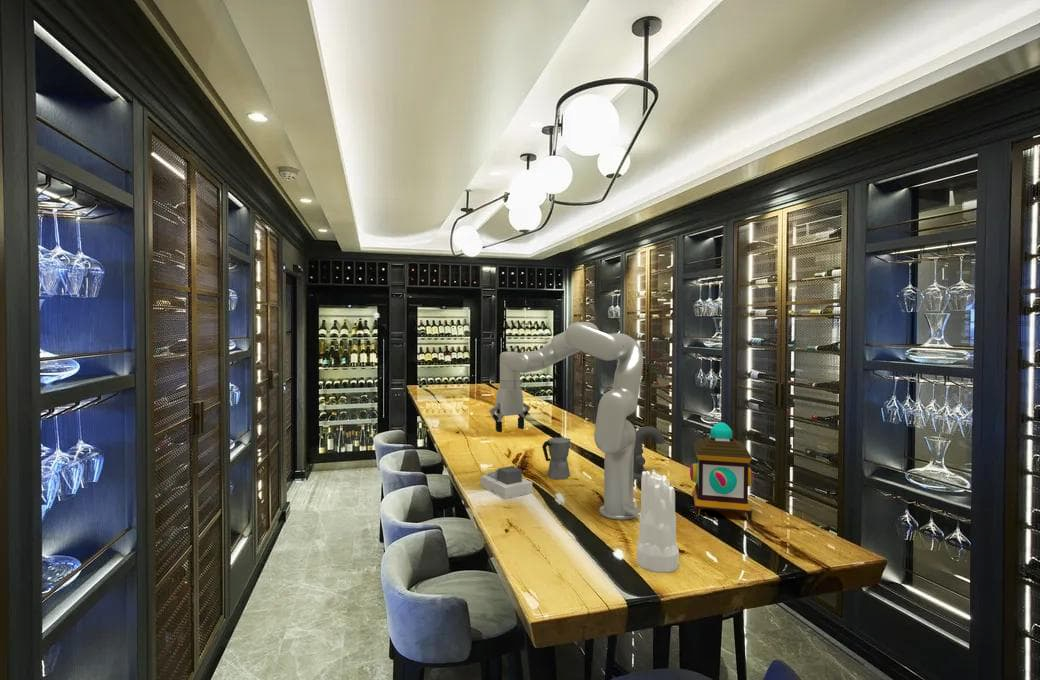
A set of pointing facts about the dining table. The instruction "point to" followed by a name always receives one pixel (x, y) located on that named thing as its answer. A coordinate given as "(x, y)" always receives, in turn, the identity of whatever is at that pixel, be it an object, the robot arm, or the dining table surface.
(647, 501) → the decorative vase
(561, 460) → the coffeepot
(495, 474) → the plate
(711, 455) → the decorative lantern
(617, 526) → the dining table surface
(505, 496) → the socket
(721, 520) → the dining table surface
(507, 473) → the plug
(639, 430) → the faucet
